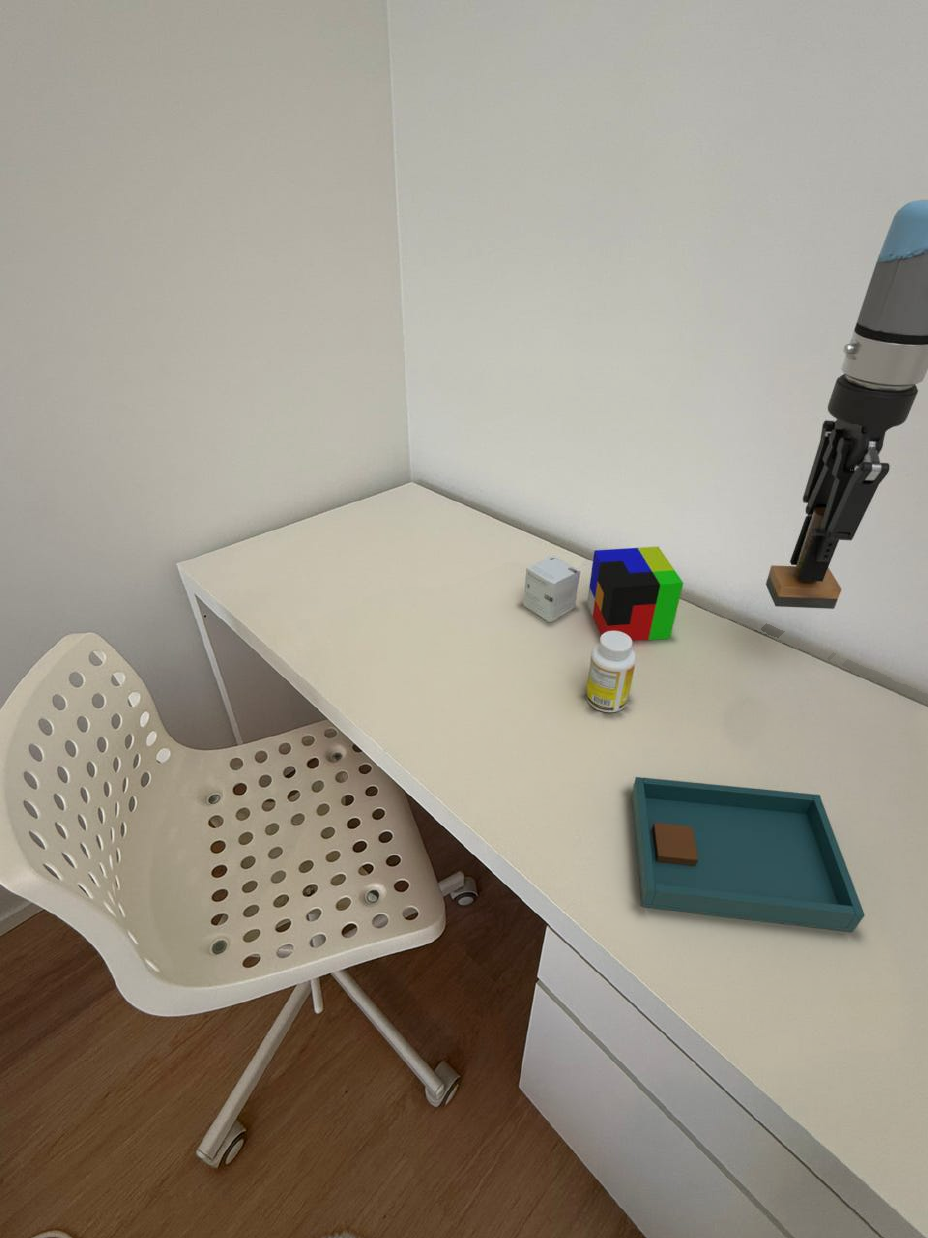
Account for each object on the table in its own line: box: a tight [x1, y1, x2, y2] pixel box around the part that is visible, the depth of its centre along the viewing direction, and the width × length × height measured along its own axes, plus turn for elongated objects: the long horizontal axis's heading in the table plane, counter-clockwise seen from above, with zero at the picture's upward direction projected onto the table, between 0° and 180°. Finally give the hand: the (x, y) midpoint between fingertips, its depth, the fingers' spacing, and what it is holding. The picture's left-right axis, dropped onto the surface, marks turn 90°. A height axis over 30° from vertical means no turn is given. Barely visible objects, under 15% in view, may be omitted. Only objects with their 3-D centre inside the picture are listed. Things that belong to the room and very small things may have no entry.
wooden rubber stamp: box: [765, 507, 842, 610], centre depth 79 cm, size 7×5×12 cm
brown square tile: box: [652, 823, 698, 866], centre depth 67 cm, size 4×4×1 cm
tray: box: [631, 776, 866, 933], centre depth 67 cm, size 20×14×3 cm
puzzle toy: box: [586, 546, 684, 642], centre depth 97 cm, size 10×10×10 cm
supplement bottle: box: [585, 631, 637, 713], centre depth 83 cm, size 6×6×10 cm
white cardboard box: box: [522, 555, 581, 623], centre depth 101 cm, size 6×6×7 cm
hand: (805, 571), depth 81 cm, fingers closed on wooden rubber stamp, 3 cm apart
